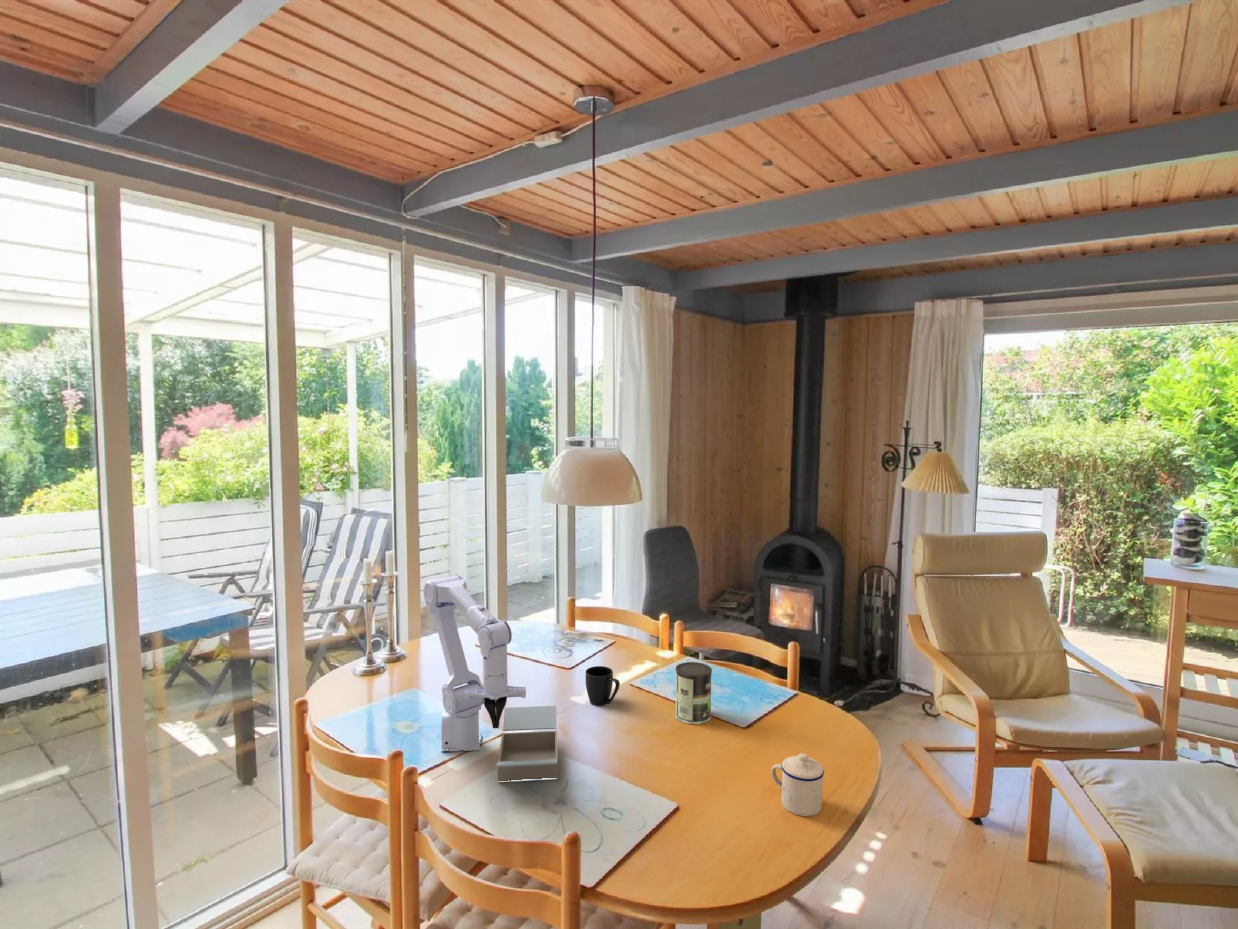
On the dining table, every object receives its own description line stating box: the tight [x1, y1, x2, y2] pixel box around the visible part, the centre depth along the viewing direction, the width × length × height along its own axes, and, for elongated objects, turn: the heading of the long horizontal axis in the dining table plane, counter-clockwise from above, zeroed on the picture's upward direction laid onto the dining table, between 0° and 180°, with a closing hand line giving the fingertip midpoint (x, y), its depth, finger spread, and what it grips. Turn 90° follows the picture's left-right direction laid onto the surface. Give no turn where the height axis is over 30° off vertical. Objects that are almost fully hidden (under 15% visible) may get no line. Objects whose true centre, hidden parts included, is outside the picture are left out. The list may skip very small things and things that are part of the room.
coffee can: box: [674, 661, 713, 725], centre depth 187 cm, size 10×10×14 cm
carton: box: [497, 730, 559, 782], centre depth 161 cm, size 14×14×5 cm
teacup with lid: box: [770, 752, 825, 817], centre depth 146 cm, size 12×9×12 cm
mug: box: [585, 665, 621, 707], centre depth 195 cm, size 8×12×10 cm
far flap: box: [502, 705, 557, 732], centre depth 171 cm, size 14×7×1 cm, turn 96°
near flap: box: [495, 759, 557, 768], centre depth 150 cm, size 14×7×1 cm, turn 96°
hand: (496, 726), depth 159 cm, fingers closed
